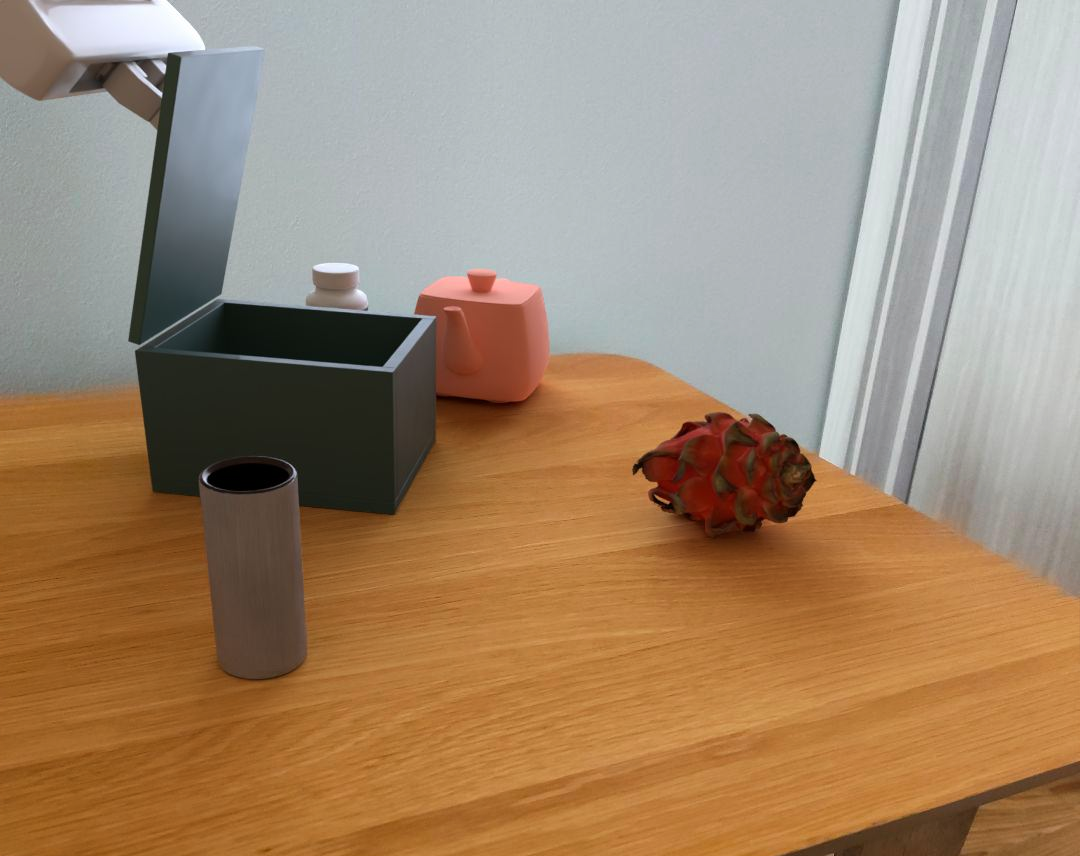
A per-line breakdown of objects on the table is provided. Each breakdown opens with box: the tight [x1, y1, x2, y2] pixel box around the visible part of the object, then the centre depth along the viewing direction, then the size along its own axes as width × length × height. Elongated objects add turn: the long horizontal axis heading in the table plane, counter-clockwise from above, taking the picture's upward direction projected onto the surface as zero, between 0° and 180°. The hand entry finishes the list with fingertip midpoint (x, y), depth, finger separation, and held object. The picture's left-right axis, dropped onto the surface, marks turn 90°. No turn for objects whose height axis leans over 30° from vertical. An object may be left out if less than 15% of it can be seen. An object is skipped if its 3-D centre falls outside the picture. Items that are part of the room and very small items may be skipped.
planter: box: [199, 456, 308, 680], centre depth 53 cm, size 4×4×10 cm
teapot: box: [413, 268, 550, 404], centre depth 92 cm, size 12×18×10 cm, turn 167°
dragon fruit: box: [632, 411, 818, 538], centre depth 70 cm, size 8×8×12 cm
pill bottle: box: [305, 262, 369, 311], centre depth 94 cm, size 5×5×10 cm
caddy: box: [134, 298, 437, 515], centre depth 75 cm, size 17×14×10 cm
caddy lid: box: [127, 45, 266, 346], centre depth 69 cm, size 18×14×1 cm
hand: (188, 132), depth 68 cm, fingers closed
